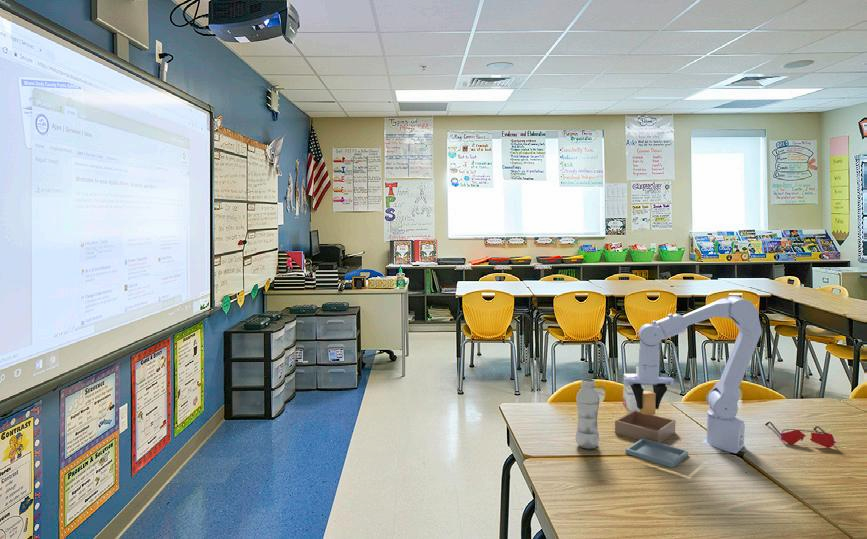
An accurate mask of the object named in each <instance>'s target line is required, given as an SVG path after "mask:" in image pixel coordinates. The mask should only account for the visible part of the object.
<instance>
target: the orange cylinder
mask: <svg viewBox="0 0 867 539" xmlns="http://www.w3.org/2000/svg"><path fill="white" fill-rule="evenodd" d="M656 410H657V409H656V393H654V392H653V391H649V390H645V391H643V396H642V409H640V413H642V414H645V415H656Z"/></svg>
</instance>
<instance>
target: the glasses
mask: <svg viewBox="0 0 867 539" xmlns="http://www.w3.org/2000/svg"><path fill="white" fill-rule="evenodd" d="M769 424H770V426H772V428H773V429H774V430H775V431H776V432H777V433H778V435H779V436H780V440H782V441H784V442H785V443H787V444H788V445H794V444H795V445H796V443H798V442H799V441H800V442H802V441H803V440H804V438H805V437H806V434H805V433H804V432H806V430H805V429H804V430H803V429H793V428H791V429H790V428H786V429H783V430H782V431H781V433H780V431H779V430H778V429H777V427H775V425H774V424H773V423H772V422H771V421H767V422H766V423H765V424H764V426H768V425H769ZM817 429H819V430H820V431H816V430H817ZM789 430H790V431H789ZM814 430H815V431H814ZM785 431H786V432H785ZM808 432H810V437H809V440H810V441H811V442H812V443H815V444H816V445H817V444H818V445H820V446H822V447H824V448H827V447H831V448H832V447H833V446H834V445H835V444H836V443H837V441H835V439H834V438H835V437H834V436H833V434H832V433H829V432H825V431H824V430H823V429H822V428H821V427H820V426H819V425H818V426H815V427H813V430H807V433H808Z"/></svg>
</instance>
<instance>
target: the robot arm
mask: <svg viewBox="0 0 867 539" xmlns="http://www.w3.org/2000/svg"><path fill="white" fill-rule="evenodd" d="M759 313H760V312H759V310H758V309H757V307H756V305H754V303H753V302H752V301H751V300H748V299H744V298H742V297H741V296H739V295H730V296H727V297H725V298H720V299H718V300H716V301H713V302H711V303H709V304H706V305H704V306H702V307H699V308H697V309H695V310H692V311H690V312H688V313H686V314H683V315H681V314H679V313H674V314H673V313H669V314H667V317H663V318H661V319H659V320H657V321H656V320H654V319H653V320H652V321H651V323H645V324H643V325H641V326H640V328H639V329H638V331H637V334H638V338H639V339H640V340H639V348H638V367H639V376H636V377H626V378H624V377H623V378H622V379H623V380H622V381H623V384H624V385H630V386H631V388H632V390H633V393H634V395H635V399H636V403H637V407H638V408H639V409H642V396H643V391H644V389H643V388H642V386H641V385H645V386H648V385H649V386H652V388H653V390H652V392H654V393H656V409H655V410H659V407H660V404H661V402H662V399H663V397H664V395H665V394H666V392H667V391H668V386H674V385H675V379H674V378H672V377H670V376H669V377H667V376H666V377H665V376H660V353H661V352H660V343H661V342H662V340H666V339H669V338H672V337H674V336H677V335H679V334H682V333H684V332H686V330H687V329H688V326H691V325H694V324H698V323H700V322H703V321H705V320H710V319H712V318H715V317H716V318H717V317H718V318H722V319H723V318H725V319H729V318H730V319H731V320H732V321H733V322H734V325H735V326H736V327H737V329H738V334H737V337H736V339H735V342H734V344H733V347H732V349H731V352H730V354H729V356H728V359H727V361H726V364H725V367H724V369H723V371H722V373H721V376H720V379H719V380H718V381H717V382H716V383H715V384H714V386H713V388H712V389H711V390H710V391H708V393H707V394H706V397H705V398H706V403H707V404H708V406H709V407H708V408H709V409H708V410H707V416H706V417H707V418H706V438H705V439H704V440H703V441H701V444H703V445H707V446H710V447H715V448H718V450H721V451H725V452H728V453H732V454H738V453H739V452H740V451H741V450H742V449H743V448H744V447H745V429H746V427H745V426H746V424H745V421H744V420H743V419H739V418H738V417H736V415H737V414H738V412H739V411H738V410H739V407H738V401H739V399H740V392H739V390H740V386H741V384H742V381H743V379H744V376H745V374H746V371H747V369H748V368H749V367H748V366H749V364H750V362H751V360H752V357H753V355H754V353H755V350H756V348H757V345H758V343H759V341H760V337H761V335H762V331H763V329H762V325H761V321H760V317H759Z"/></svg>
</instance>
